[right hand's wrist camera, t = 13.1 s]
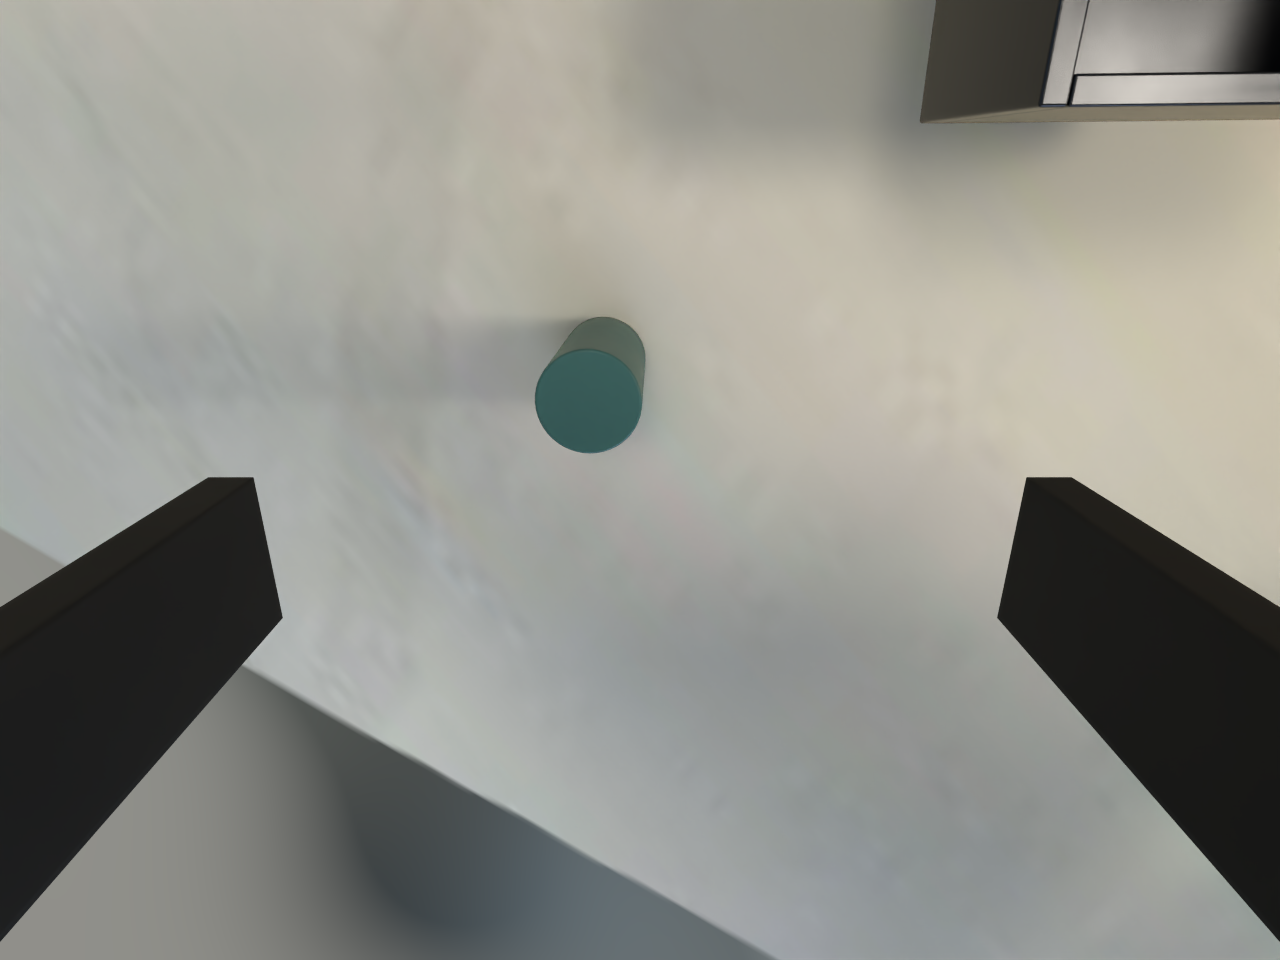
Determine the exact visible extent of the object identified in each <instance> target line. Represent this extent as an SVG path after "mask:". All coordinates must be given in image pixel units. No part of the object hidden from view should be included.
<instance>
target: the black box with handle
mask: <svg viewBox="0 0 1280 960" xmlns="http://www.w3.org/2000/svg"><path fill="white" fill-rule="evenodd" d="M1277 119H1280V0H936V7H935V14H934V21H933V29H932V36H931V43H930V51H929V58H928V65H927V73H926V80H925V87H924V94H923V102H922V109H921V116H920V123H1004V122H1095V121H1186V120H1277Z"/></svg>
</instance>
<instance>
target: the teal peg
mask: <svg viewBox="0 0 1280 960" xmlns="http://www.w3.org/2000/svg"><path fill="white" fill-rule="evenodd" d="M644 371H645V351H644V347H643V344H642V342H641V340H640V338H639V336H638V335H637V333H636V332H635V331H634V330H633V329H632V328H631V327H630V326H628V325H627V324H626V323H624V322H622V321H620V320H617V319H614V318H609V317H598V318H593V319H590V320H587V321H585V322H583V323H582V324H580V325H579V326H578V327H576V328H575V329H574V330H573V332H572V333H571V334H570V335H569V337H568V338H567V340H566V341H565V342H564V344H563V345H562V346H561V348H560V349H559V350H558V352H557V353H556V355H555V356H554V357H553V359H552V360H551V361H550V363H549V364H548V366H547V367H546V368H545V370H544V371H543V373H542V374H541V376H540V378H539V381H538V383H537V387H536V392H535V406H536V412H537V415H538V418H539V420H540V423H541V424H542V426H543V428H544V429H545V431H546V432H547V433H548V434H549V435H550V437H551V438H552V439H554V440H555V441H556V442H557V443H559V444H560V445H562V446H564V447H566V448H568V449H570V450H573V451H576V452H581V453H599V452H604V451H607V450H610V449H612V448H614V447H616V446H618V445H619V444H621V443H622V442H624V441H625V440H626V439H627V438H628V437H629V436H630V435H631V434H632V432H633V431H634V429H635V428H636V426H637V424H638V421H639V418H640V415H641V410H642V399H643V385H644Z"/></svg>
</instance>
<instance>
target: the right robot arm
mask: <svg viewBox="0 0 1280 960" xmlns="http://www.w3.org/2000/svg"><path fill="white" fill-rule="evenodd" d="M282 618H283V617H282V612H281V607H280V602H279V598H278V593H277V588H276V583H275V578H274V574H273V569H272V564H271V559H270V554H269V550H268V545H267V540H266V535H265V531H264V526H263V521H262V516H261V511H260V507H259V502H258V497H257V492H256V487H255V483H254V478H253V477H208V478H207V479H205V480H203V481H202V482H200V483H199V484H197V485H195V486H194V487H192V488H191V489H189V490H187V491H186V492H184V493H183V494H181V495H179V496H178V497H176V498H175V499H173V500H171V501H170V502H168V503H167V504H165V505H163V506H162V507H160V508H159V509H157V510H155V511H154V512H152V513H150V514H149V515H147V516H146V517H144V518H142V519H141V520H139V521H138V522H136V523H134V524H133V525H131V526H130V527H128V528H126V529H125V530H123V531H122V532H120V533H118V534H117V535H115V536H114V537H112V538H110V539H109V540H107V541H106V542H104V543H102V544H101V545H99V546H98V547H96V548H94V549H93V550H91V551H90V552H88V553H86V554H85V555H83V556H82V557H80V558H78V559H77V560H75V561H74V562H72V563H70V564H69V565H67V566H66V567H64V568H62V569H61V570H59V571H58V572H56V573H54V574H53V575H51V576H49V577H48V578H46V579H45V580H43V581H42V582H40V583H38V584H37V585H35V586H34V587H32V588H30V589H29V590H27V591H25V592H24V593H22V594H21V595H19V596H17V597H16V598H14V599H13V600H11V601H9V602H8V603H6V604H5V605H3V606H1V607H0V941H1V940H2V939H3V938H4V937H5V936H6V934H7V933H8V932H9V931H10V930H11V929H12V928H13V926H14V925H15V924H16V923H17V922H18V921H19V919H20V918H21V917H22V916H23V915H24V914H25V913H26V912H27V910H28V909H29V908H30V907H31V906H32V905H33V903H34V902H35V901H36V900H37V899H38V898H39V897H40V895H41V894H42V893H43V892H44V891H45V890H46V889H47V887H48V886H49V885H50V884H51V883H52V882H53V881H54V879H55V878H56V877H57V876H58V875H59V874H60V873H61V871H62V870H63V869H64V868H65V867H66V866H67V865H68V863H69V862H70V861H71V860H72V859H73V858H74V856H75V855H76V854H77V853H78V852H79V851H80V850H81V848H82V847H83V846H84V845H85V844H86V843H87V842H88V840H89V839H90V838H91V837H92V836H93V835H94V834H95V832H96V831H97V830H98V829H99V828H100V827H101V825H102V824H103V823H104V822H105V821H106V820H107V819H108V818H109V816H110V815H111V814H112V813H113V812H114V811H115V809H116V808H117V807H118V806H119V805H120V804H121V803H122V801H123V800H124V799H125V798H126V797H127V796H128V795H129V793H130V792H131V791H132V790H133V789H134V788H135V787H136V785H137V784H138V783H139V782H140V781H141V780H142V779H143V777H144V776H145V775H146V774H147V773H148V772H149V771H150V769H151V768H152V767H153V766H154V765H155V764H156V762H157V761H158V760H159V759H160V758H161V757H162V756H163V754H164V753H165V752H166V751H167V750H168V749H169V748H170V746H171V745H172V744H173V743H174V742H175V741H176V740H177V738H178V737H179V736H180V735H181V734H182V733H183V731H184V730H185V729H186V728H187V727H188V726H189V725H190V724H191V722H192V721H193V720H194V719H195V718H196V717H197V715H198V714H199V713H200V712H201V711H202V710H203V709H204V707H205V706H206V705H207V704H208V703H209V702H210V701H211V699H212V698H213V697H214V696H215V695H216V694H217V693H218V691H219V690H220V689H221V688H222V687H223V686H224V685H225V683H226V682H227V681H228V680H229V679H230V678H231V677H232V675H233V674H234V673H235V672H236V671H237V670H238V668H239V667H240V666H241V665H242V664H243V663H244V662H245V660H246V659H247V658H248V657H249V656H250V655H251V654H252V652H253V651H254V650H255V649H256V648H257V647H258V646H259V644H260V643H261V642H262V641H263V640H264V639H265V638H266V636H267V635H268V634H269V633H270V632H271V631H272V629H273V628H274V627H275V626H276V625H277V624H278V623H279V621H280V620H281V619H282ZM997 618H998V619H999V620H1000V621H1001V623H1002V624H1003V625H1004V626H1005V627H1006V628H1007V630H1008V631H1009V632H1010V633H1011V634H1012V635H1013V636H1014V638H1015V639H1016V640H1017V641H1018V642H1019V643H1020V644H1021V646H1022V647H1023V648H1024V649H1025V650H1026V651H1027V652H1028V654H1029V655H1030V656H1031V657H1032V658H1033V659H1034V660H1035V662H1036V663H1037V664H1038V665H1039V666H1040V667H1041V668H1042V670H1043V671H1044V672H1045V673H1046V674H1047V675H1048V677H1049V678H1050V679H1051V680H1052V681H1053V682H1054V683H1055V685H1056V686H1057V687H1058V688H1059V689H1060V690H1061V691H1062V693H1063V694H1064V695H1065V696H1066V697H1067V698H1068V699H1069V701H1070V702H1071V703H1072V704H1073V705H1074V706H1075V707H1076V709H1077V710H1078V711H1079V712H1080V713H1081V714H1082V715H1083V717H1084V718H1085V719H1086V720H1087V721H1088V722H1089V724H1090V725H1091V726H1092V727H1093V728H1094V729H1095V730H1096V732H1097V733H1098V734H1099V735H1100V736H1101V737H1102V738H1103V740H1104V741H1105V742H1106V743H1107V744H1108V745H1109V746H1110V748H1111V749H1112V750H1113V751H1114V752H1115V753H1116V754H1117V756H1118V757H1119V758H1120V759H1121V760H1122V761H1123V762H1124V764H1125V765H1126V766H1127V767H1128V768H1129V769H1130V771H1131V772H1132V773H1133V774H1134V775H1135V776H1136V777H1137V779H1138V780H1139V781H1140V782H1141V783H1142V784H1143V785H1144V787H1145V788H1146V789H1147V790H1148V791H1149V792H1150V793H1151V795H1152V796H1153V797H1154V798H1155V799H1156V800H1157V801H1158V803H1159V804H1160V805H1161V806H1162V807H1163V808H1164V809H1165V811H1166V812H1167V813H1168V814H1169V815H1170V816H1171V818H1172V819H1173V820H1174V821H1175V822H1176V823H1177V824H1178V826H1179V827H1180V828H1181V829H1182V830H1183V831H1184V832H1185V834H1186V835H1187V836H1188V837H1189V838H1190V839H1191V840H1192V842H1193V843H1194V844H1195V845H1196V846H1197V847H1198V848H1199V850H1200V851H1201V852H1202V853H1203V854H1204V855H1205V856H1206V858H1207V859H1208V860H1209V861H1210V862H1211V863H1212V865H1213V866H1214V867H1215V868H1216V869H1217V870H1218V871H1219V873H1220V874H1221V875H1222V876H1223V877H1224V878H1225V879H1226V881H1227V882H1228V883H1229V884H1230V885H1231V886H1232V887H1233V889H1234V890H1235V891H1236V892H1237V893H1238V894H1239V895H1240V897H1241V898H1242V899H1243V900H1244V901H1245V902H1246V904H1247V905H1248V906H1249V907H1250V908H1251V909H1252V910H1253V912H1254V913H1255V914H1256V915H1257V916H1258V917H1259V918H1260V920H1261V921H1262V922H1263V923H1264V924H1265V925H1266V926H1267V928H1268V929H1269V930H1270V931H1271V932H1272V933H1273V934H1274V936H1275V937H1276V938H1277V939H1278V940H1279V941H1280V607H1279V606H1277V605H1275V604H1274V603H1272V602H1271V601H1269V600H1267V599H1266V598H1264V597H1263V596H1261V595H1259V594H1258V593H1256V592H1255V591H1253V590H1251V589H1250V588H1248V587H1247V586H1245V585H1243V584H1242V583H1240V582H1239V581H1237V580H1235V579H1234V578H1232V577H1230V576H1229V575H1227V574H1226V573H1224V572H1222V571H1221V570H1219V569H1218V568H1216V567H1214V566H1213V565H1211V564H1210V563H1208V562H1206V561H1205V560H1203V559H1202V558H1200V557H1198V556H1197V555H1195V554H1194V553H1192V552H1190V551H1189V550H1187V549H1186V548H1184V547H1182V546H1181V545H1179V544H1178V543H1176V542H1174V541H1173V540H1171V539H1170V538H1168V537H1166V536H1165V535H1163V534H1162V533H1160V532H1158V531H1157V530H1155V529H1154V528H1152V527H1150V526H1149V525H1147V524H1146V523H1144V522H1142V521H1141V520H1139V519H1138V518H1136V517H1134V516H1133V515H1131V514H1129V513H1128V512H1126V511H1125V510H1123V509H1121V508H1120V507H1118V506H1117V505H1115V504H1113V503H1112V502H1110V501H1109V500H1107V499H1105V498H1104V497H1102V496H1101V495H1099V494H1097V493H1096V492H1094V491H1093V490H1091V489H1089V488H1088V487H1086V486H1085V485H1083V484H1081V483H1080V482H1078V481H1077V480H1075V479H1073V478H1072V477H1027V478H1026V483H1025V487H1024V492H1023V497H1022V502H1021V507H1020V511H1019V516H1018V521H1017V526H1016V531H1015V535H1014V540H1013V545H1012V550H1011V554H1010V559H1009V564H1008V569H1007V574H1006V578H1005V583H1004V588H1003V593H1002V598H1001V602H1000V607H999V612H998V617H997Z"/></svg>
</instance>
